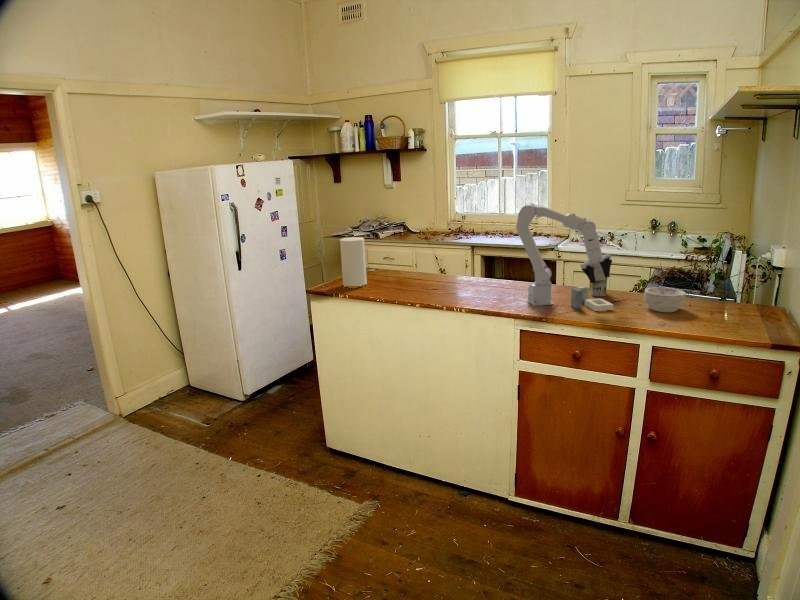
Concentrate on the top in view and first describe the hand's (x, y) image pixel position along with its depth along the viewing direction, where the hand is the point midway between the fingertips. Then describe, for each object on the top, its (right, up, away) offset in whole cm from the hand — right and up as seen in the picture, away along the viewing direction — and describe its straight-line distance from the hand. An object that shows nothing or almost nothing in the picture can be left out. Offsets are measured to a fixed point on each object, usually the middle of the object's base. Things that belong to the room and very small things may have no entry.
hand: (600, 279), depth 221 cm
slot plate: (0, -12, +1) cm, 12 cm away
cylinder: (-108, -1, +57) cm, 122 cm away
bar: (-9, -12, +3) cm, 15 cm away
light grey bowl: (+24, -13, -5) cm, 28 cm away
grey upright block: (-3, -9, +12) cm, 16 cm away
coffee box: (+7, -6, +23) cm, 24 cm away
